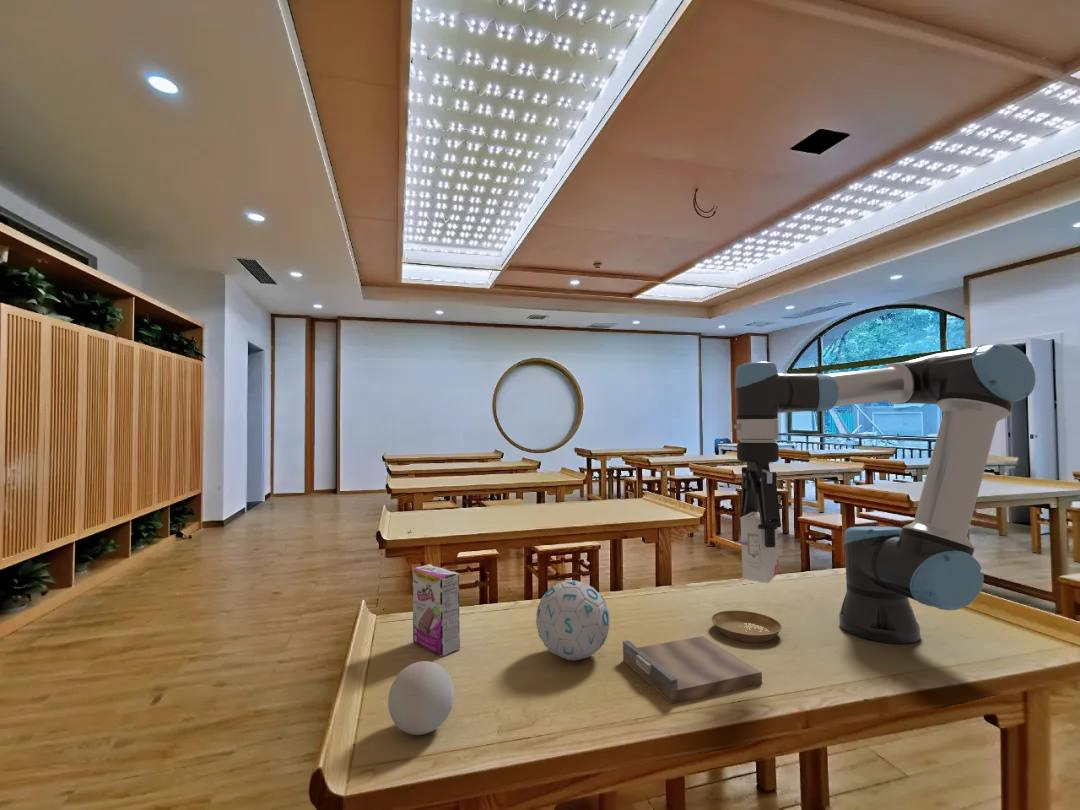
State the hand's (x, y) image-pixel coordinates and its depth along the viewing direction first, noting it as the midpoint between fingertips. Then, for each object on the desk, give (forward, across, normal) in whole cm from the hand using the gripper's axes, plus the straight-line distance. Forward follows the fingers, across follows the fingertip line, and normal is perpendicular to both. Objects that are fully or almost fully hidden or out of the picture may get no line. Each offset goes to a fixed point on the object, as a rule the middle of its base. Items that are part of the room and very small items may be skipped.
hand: (759, 557), depth 98 cm
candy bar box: (+22, -5, -66) cm, 70 cm away
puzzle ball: (+22, -3, -36) cm, 42 cm away
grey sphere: (+22, +25, -59) cm, 67 cm away
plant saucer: (+21, -18, +2) cm, 28 cm away
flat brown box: (+21, +2, -14) cm, 26 cm away
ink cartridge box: (+4, 0, 0) cm, 4 cm away
